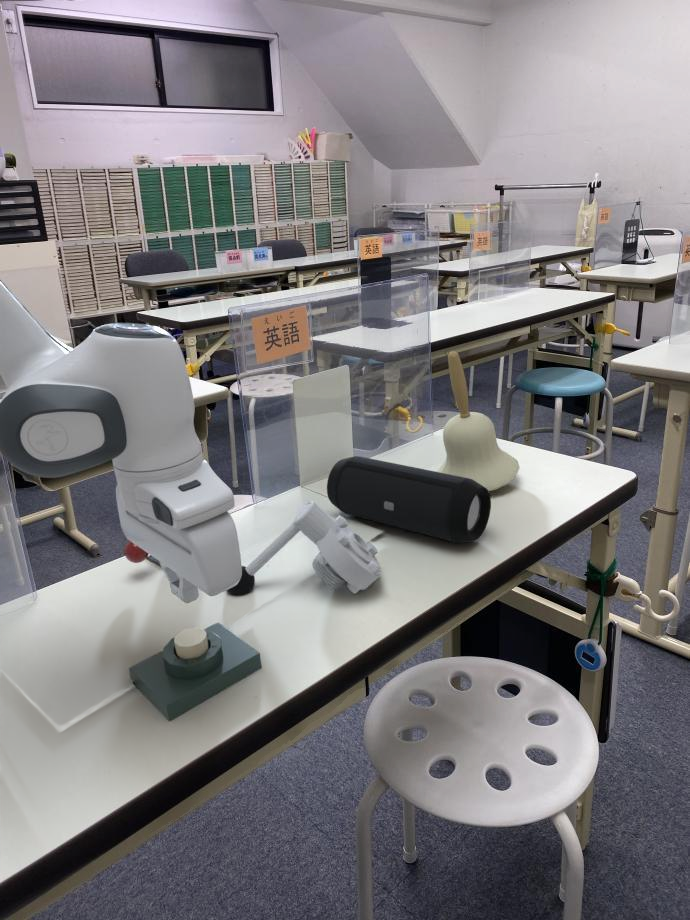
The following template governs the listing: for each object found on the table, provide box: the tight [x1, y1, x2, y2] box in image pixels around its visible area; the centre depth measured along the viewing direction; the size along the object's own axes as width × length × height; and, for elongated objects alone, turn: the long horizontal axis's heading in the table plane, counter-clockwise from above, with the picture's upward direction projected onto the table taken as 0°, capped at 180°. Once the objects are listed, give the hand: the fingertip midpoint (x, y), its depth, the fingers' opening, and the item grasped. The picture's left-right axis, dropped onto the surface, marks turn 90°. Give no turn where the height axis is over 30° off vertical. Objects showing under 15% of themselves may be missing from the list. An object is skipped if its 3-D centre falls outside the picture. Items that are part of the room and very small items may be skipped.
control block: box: [128, 622, 263, 722], centre depth 78 cm, size 12×9×4 cm
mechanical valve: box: [226, 500, 383, 596], centre depth 94 cm, size 10×18×15 cm
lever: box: [123, 540, 149, 564], centre depth 100 cm, size 13×3×3 cm
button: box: [173, 627, 208, 659], centre depth 77 cm, size 4×4×2 cm
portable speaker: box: [326, 455, 492, 544], centre depth 109 cm, size 26×10×10 cm, turn 53°
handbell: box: [436, 350, 520, 492], centre depth 120 cm, size 15×15×25 cm
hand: (185, 596), depth 75 cm, fingers closed
